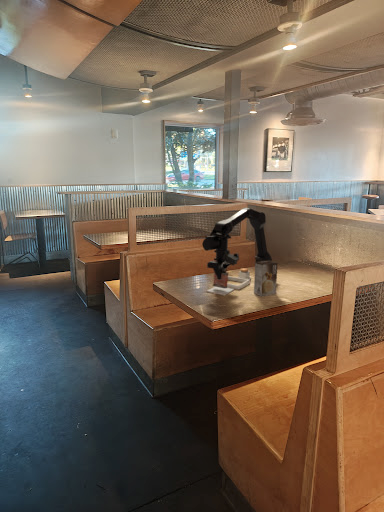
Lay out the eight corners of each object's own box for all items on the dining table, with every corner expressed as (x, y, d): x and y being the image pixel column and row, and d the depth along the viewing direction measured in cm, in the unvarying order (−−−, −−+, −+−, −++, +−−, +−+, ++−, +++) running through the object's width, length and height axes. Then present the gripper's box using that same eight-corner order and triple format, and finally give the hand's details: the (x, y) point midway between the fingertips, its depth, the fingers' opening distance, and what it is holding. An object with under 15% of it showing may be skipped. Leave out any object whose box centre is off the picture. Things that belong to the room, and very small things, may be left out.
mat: (233, 290, 184) (233, 289, 184) (224, 295, 176) (224, 294, 175) (216, 286, 189) (216, 285, 189) (206, 291, 181) (206, 290, 181)
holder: (255, 279, 203) (256, 272, 202) (238, 289, 185) (239, 281, 184) (233, 275, 210) (234, 268, 209) (215, 285, 192) (215, 277, 191)
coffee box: (267, 290, 184) (269, 259, 181) (276, 294, 179) (278, 262, 175) (253, 293, 180) (254, 261, 176) (261, 296, 174) (263, 264, 171)
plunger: (249, 276, 204) (249, 269, 203) (246, 278, 200) (246, 270, 199) (242, 275, 206) (242, 267, 205) (238, 277, 202) (239, 269, 201)
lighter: (228, 287, 180) (230, 268, 179) (225, 288, 178) (226, 268, 176) (215, 284, 185) (216, 265, 184) (211, 285, 182) (213, 266, 181)
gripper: (227, 253, 166) (226, 286, 169) (244, 246, 181) (243, 276, 184) (206, 250, 171) (206, 282, 175) (225, 244, 187) (224, 273, 190)
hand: (221, 278), depth 181 cm, fingers closed on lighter, 3 cm apart
